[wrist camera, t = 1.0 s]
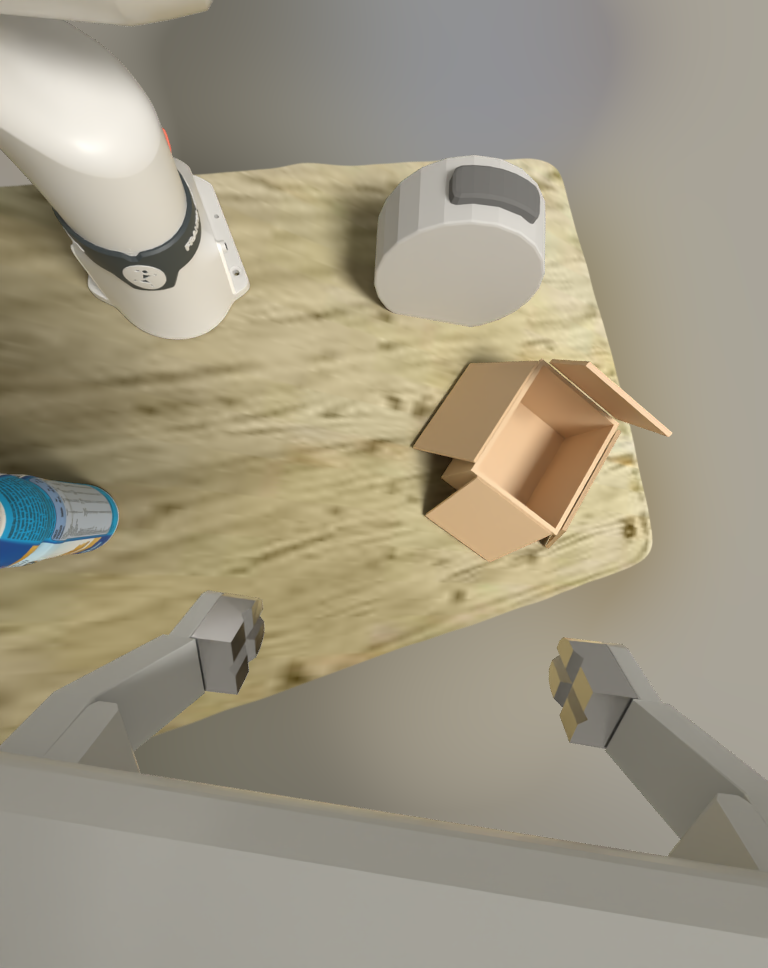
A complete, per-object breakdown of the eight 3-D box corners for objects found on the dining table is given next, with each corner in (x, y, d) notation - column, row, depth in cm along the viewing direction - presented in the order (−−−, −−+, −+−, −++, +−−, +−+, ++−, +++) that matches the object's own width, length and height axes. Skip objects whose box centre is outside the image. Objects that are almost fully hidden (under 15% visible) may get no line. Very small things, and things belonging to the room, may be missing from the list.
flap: (615, 418, 49) (668, 436, 38) (549, 362, 47) (585, 365, 37) (618, 415, 49) (672, 433, 38) (552, 359, 47) (589, 361, 37)
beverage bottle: (137, 506, 45) (11, 502, 25) (93, 567, 43) (-78, 612, 24) (72, 469, 44) (-114, 435, 24) (23, 530, 42) (-216, 546, 23)
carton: (522, 587, 55) (572, 604, 45) (384, 487, 52) (403, 481, 42) (594, 460, 60) (654, 450, 50) (471, 360, 56) (508, 327, 46)
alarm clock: (498, 286, 58) (594, 175, 39) (496, 331, 58) (594, 240, 38) (367, 259, 54) (403, 119, 34) (364, 308, 53) (399, 192, 34)
